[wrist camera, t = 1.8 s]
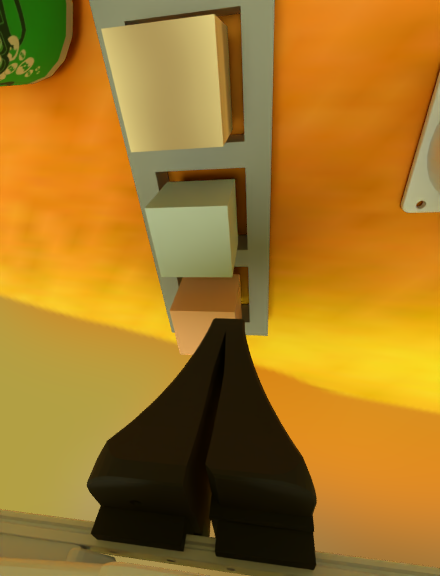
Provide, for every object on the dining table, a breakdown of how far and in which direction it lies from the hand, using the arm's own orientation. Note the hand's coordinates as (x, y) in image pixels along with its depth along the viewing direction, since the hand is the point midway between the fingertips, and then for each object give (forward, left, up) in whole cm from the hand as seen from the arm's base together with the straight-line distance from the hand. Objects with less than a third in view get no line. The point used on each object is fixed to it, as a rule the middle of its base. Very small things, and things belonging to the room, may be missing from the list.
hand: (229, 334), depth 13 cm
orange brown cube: (+2, +4, -8) cm, 9 cm away
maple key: (+2, -9, -8) cm, 12 cm away
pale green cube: (+2, -3, -8) cm, 8 cm away
